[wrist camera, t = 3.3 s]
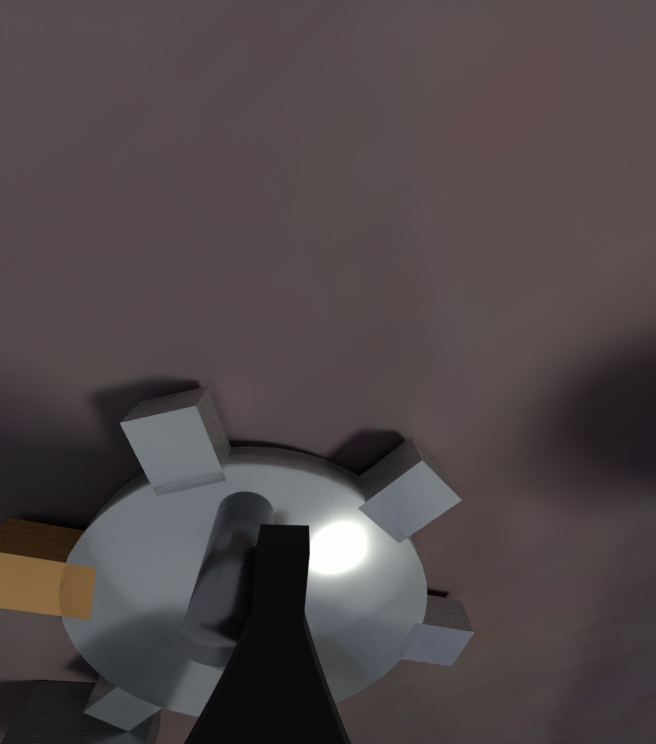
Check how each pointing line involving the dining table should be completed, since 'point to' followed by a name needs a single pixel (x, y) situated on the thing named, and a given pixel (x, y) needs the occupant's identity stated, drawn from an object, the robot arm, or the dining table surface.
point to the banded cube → (71, 719)
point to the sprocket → (233, 563)
